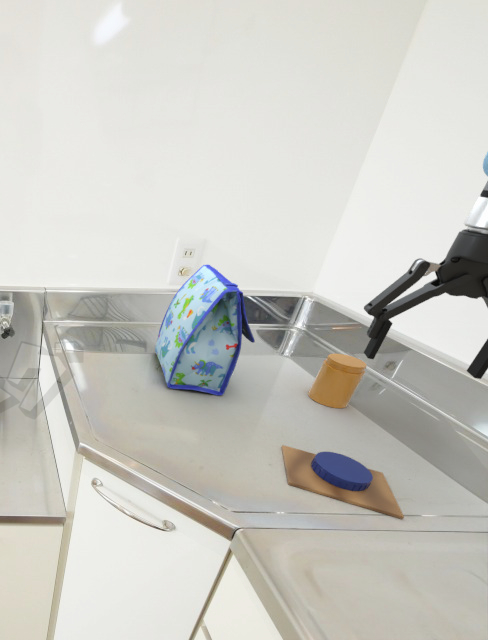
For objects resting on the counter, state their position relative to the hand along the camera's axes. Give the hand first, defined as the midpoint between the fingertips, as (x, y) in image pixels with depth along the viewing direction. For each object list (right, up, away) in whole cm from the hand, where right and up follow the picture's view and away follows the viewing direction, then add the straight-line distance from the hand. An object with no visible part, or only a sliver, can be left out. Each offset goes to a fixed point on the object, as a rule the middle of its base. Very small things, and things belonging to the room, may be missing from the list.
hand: (418, 365), depth 70 cm
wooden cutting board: (-9, -21, +6) cm, 23 cm away
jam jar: (+10, -8, +32) cm, 34 cm away
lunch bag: (-19, -1, +40) cm, 45 cm away
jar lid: (-8, -18, +6) cm, 21 cm away
